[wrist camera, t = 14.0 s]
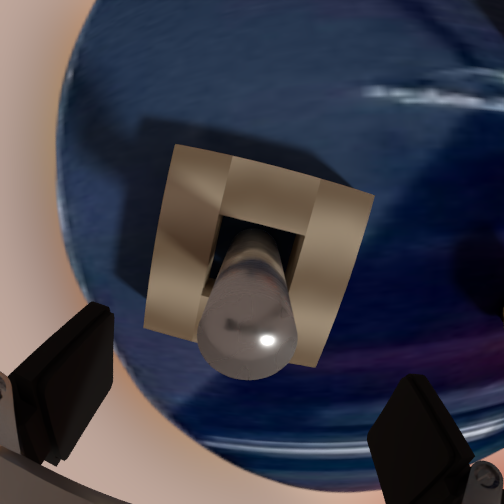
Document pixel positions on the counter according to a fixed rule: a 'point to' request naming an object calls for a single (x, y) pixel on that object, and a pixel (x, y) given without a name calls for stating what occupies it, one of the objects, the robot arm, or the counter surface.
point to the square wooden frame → (261, 212)
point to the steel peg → (249, 311)
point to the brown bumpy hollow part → (502, 311)
